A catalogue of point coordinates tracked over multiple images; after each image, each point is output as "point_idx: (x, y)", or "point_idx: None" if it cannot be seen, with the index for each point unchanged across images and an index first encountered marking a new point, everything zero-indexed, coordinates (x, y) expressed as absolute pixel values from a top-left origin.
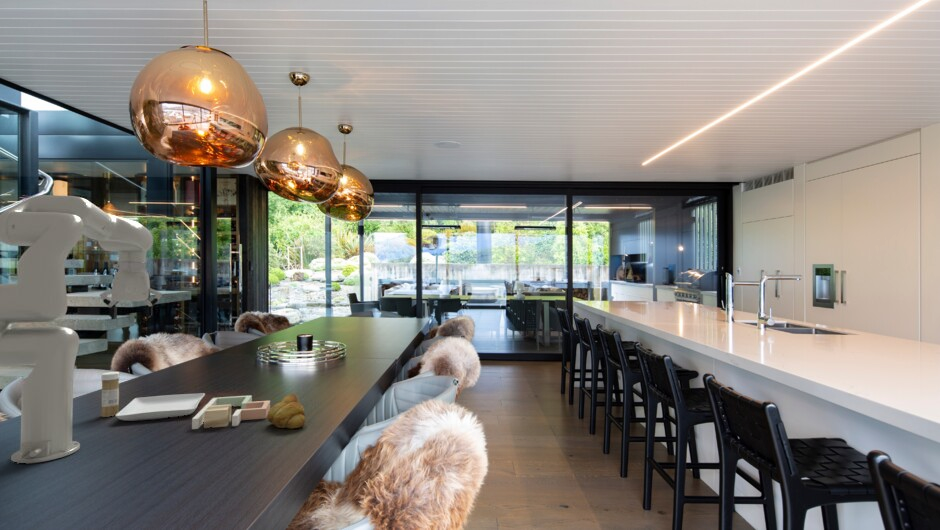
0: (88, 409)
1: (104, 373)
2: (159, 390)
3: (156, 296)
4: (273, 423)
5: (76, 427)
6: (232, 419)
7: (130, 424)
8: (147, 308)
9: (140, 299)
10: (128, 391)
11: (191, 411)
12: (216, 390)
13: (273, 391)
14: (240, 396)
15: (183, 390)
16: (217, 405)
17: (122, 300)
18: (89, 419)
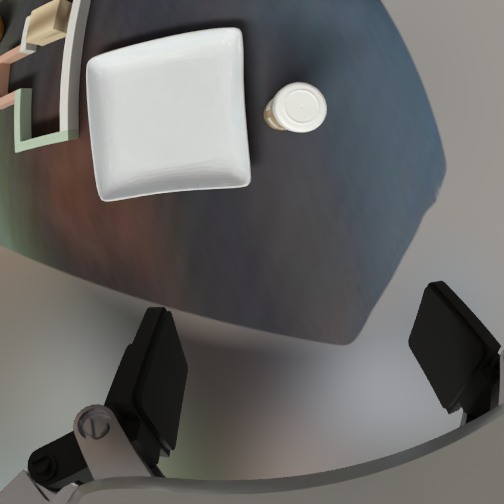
0: (346, 190)
1: (319, 104)
2: (246, 322)
3: (33, 502)
4: (1, 18)
5: (313, 41)
6: None
7: (207, 28)
8: (126, 381)
9: (155, 500)
10: (307, 328)
11: (95, 61)
12: (122, 287)
13: (24, 244)
14: (28, 144)
15: (193, 308)
16: (42, 32)
17: (484, 424)
18: None
